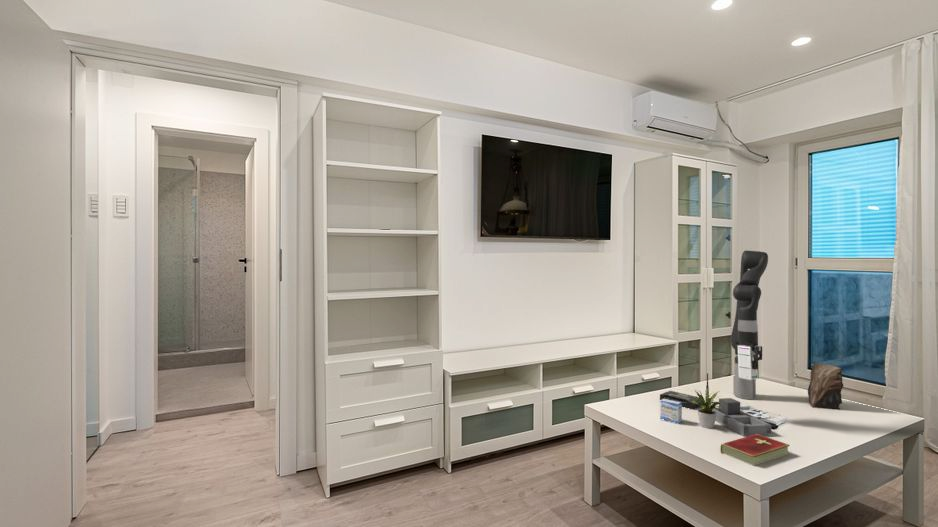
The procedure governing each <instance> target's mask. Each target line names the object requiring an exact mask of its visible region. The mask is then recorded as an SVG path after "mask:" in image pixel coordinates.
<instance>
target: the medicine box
mask: <svg viewBox="0 0 938 527" xmlns="http://www.w3.org/2000/svg"><path fill="white" fill-rule="evenodd" d="M659 402H660V403H659V405H660V406H659V409H660V410H659V413H660V414H659V418H660V419H659V420H661V419H664V420H667V421H666V422H668V421H671V422H670V423H672V422H675V423H674V424H677V423H679V424H680V423H682V422H683V417H682V416H683V412H682V411H683V407H682V402H678V401H673V400H668V399H662V400H661V401H660V400H659Z"/></svg>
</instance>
